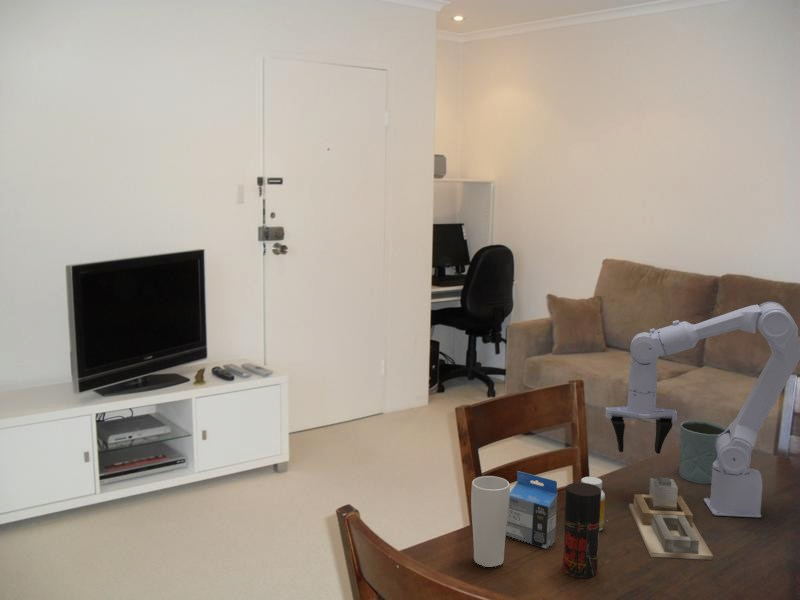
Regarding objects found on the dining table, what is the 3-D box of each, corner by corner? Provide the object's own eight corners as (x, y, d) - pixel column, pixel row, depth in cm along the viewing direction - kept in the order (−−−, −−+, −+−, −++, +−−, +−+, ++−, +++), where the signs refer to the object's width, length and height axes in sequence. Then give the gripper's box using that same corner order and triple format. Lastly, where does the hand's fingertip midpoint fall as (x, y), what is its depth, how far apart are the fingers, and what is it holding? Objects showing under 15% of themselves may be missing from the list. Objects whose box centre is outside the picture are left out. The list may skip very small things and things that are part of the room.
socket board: (683, 509, 168) (684, 494, 167) (712, 559, 146) (714, 542, 146) (629, 507, 169) (629, 492, 169) (650, 556, 147) (651, 539, 147)
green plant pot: (673, 467, 192) (676, 419, 190) (717, 470, 191) (721, 421, 189) (681, 483, 182) (685, 432, 180) (728, 486, 181) (732, 435, 179)
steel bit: (670, 511, 165) (673, 476, 164) (675, 521, 161) (678, 484, 159) (648, 510, 166) (650, 475, 164) (652, 519, 161) (654, 483, 160)
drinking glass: (497, 575, 140) (500, 493, 138) (463, 564, 144) (464, 484, 141) (513, 559, 146) (516, 480, 144) (480, 550, 149) (482, 472, 147)
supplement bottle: (601, 521, 162) (603, 475, 160) (605, 533, 157) (607, 486, 155) (574, 520, 163) (576, 474, 161) (577, 532, 157) (579, 484, 156)
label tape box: (504, 537, 155) (506, 476, 153) (515, 529, 158) (517, 470, 156) (546, 550, 150) (548, 487, 148) (556, 542, 153) (558, 480, 151)
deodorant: (558, 562, 145) (562, 483, 143) (590, 561, 146) (594, 482, 143) (568, 578, 139) (571, 496, 137) (601, 577, 140) (606, 495, 137)
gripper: (610, 393, 167) (607, 456, 169) (682, 396, 166) (678, 459, 168) (605, 384, 174) (602, 445, 176) (674, 387, 173) (670, 447, 175)
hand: (638, 451), depth 173 cm, fingers open, 7 cm apart
